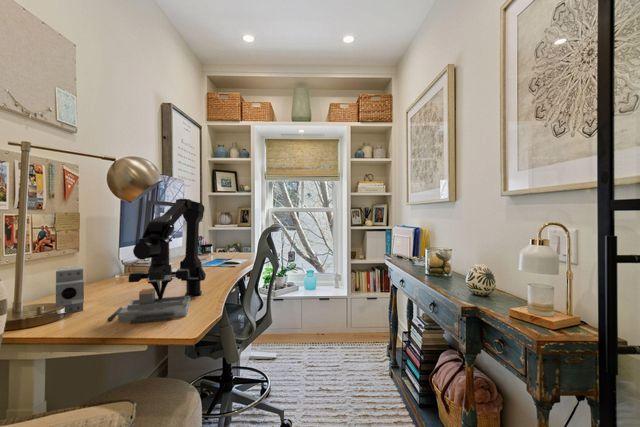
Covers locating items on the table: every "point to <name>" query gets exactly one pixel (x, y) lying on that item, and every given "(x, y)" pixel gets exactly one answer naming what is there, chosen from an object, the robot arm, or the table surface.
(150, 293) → the toggle
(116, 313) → the dark grey rod
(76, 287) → the circuit breaker
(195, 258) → the robot arm
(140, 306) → the panel
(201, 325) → the table surface
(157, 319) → the charcoal thin cylinder
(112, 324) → the table surface
